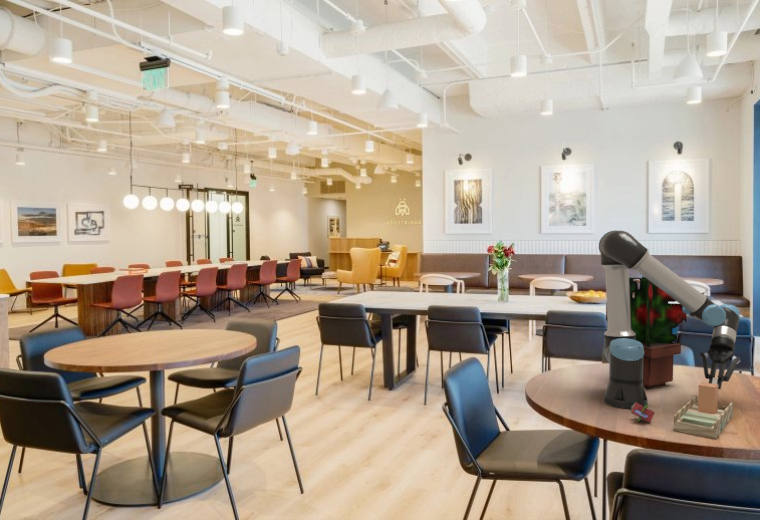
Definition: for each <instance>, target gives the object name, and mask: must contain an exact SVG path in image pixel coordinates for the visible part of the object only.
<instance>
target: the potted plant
mask: <svg viewBox="0 0 760 520" xmlns="http://www.w3.org/2000/svg"><path fill="white" fill-rule="evenodd" d="M635 280H639V284H638V282H637V281H635ZM629 287H630V311H631V329H632V331H633V332H635V333H636V341H639V342H641V343H642V345H643V348H644V358H643V386H644V389H645V390H646V389H647V390H650V389H654V388H659V387H663V386H664V387H665V386H666V383H670V382H673V381H674V356H675V355H680V354H682V345H681V343H677V342H676V343H675V341H677V339H678V336H677V335H676V334H674V333H673V329H676V328H677V327H678V325H680V324H682V323H683V322H685V323H687V318H688V317H687V316H688V315H687V314H685V313H683V311H682V308H683V306H682V305H681V304H680V303H675V302H677V301H676V300H674V299H673V298H672V297H670V296H669V295H668V294H666V293H665V292H664V291H662V290H661V289H660V288H658V287H657V286H656V285H654V284H653V283H652V282H651V281H649V280H648V279H647V278H645V277H644V276H643V275H641V277H629ZM638 287H639V288H638ZM633 293H634V297H633ZM605 321H607V322H608V319H607V301H606V304H605Z"/></svg>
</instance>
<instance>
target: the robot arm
mask: <svg viewBox="0 0 760 520" xmlns="http://www.w3.org/2000/svg"><path fill="white" fill-rule="evenodd" d="M598 251H599V253H600V266H601V267H602V268H603V269H604V270H605V272H604V273H605V292H606V293H605V295H606V302H607V319H608V321H607V330H606V331H605V332H604V333H603V338H604V339H603V340H604V344H603V348H602V350H603V351H602V352H603V355H604V357H605V359H606V360H607V362H608V364H609V367H608V368H609V370H608V371H609V378H608V380H609V381H608V383H607V387H606V389H605V391H604V394H603V402H604V403H605V404H607V405H609V406H611V407H614V408H621V409H629V410H631V409H632V406H633V405H634V404H635V403H636V402H637V403H638V404H640V405H642V406H644V405H646V404H648V403H649V401H648V396H647V393H646V389H645V388H644V386H643V358H644V348H643V345H642V343H641V342H639V341H636V333H635V332H633V331H632V329H631V311H630V287H629V278H630V270H632V271H633V270H635V271H636V272H637V273H639V274H640V275H641V276H643V277H645V278H647V279H648V280H649V281H651V282H652V283H653V284H654V285H656V286H657V287H658V288H660V289H661V290H662V291H664V292H665V293H666V294H668V295H669V296H670V297H672V298H673V299H674V300H676V301H675V302H677V304H681V305H682V306H683V308H682V311H683V313H685V314H687V316H689V317H692V318H694V319H696V320H698V321H701V322H702V323H704V324H706V325H708V326H713V331H712V337H711V341H710V346H709V349H708V350H707V352H700V353H699V354H700V355H699V356H700V358H701V360H702V366H703V367H702V368H703V372H704V378H705V379H706V380H707V379H708V383H711V384H718V390H722V389H721V388H722V384H723V382H725V383H726V382H727V383H728V382H729V380H730V379H731V377H732V375H733V373H734V371H735V370H736V368H737V366H739V365H740V363H741V358H740V356H735V353H734V350H735V346H736V345H735V343H736V339H737V333H738V327H739V323H740V317H741V315H740V313H741V312H740V309H739V308H738V307H737V306H736V305H734V304H728V303H723V304H720V305H719V304H716V303H715V302H714V301H712V300H711V299H710V298H709V297H707V296H706V295H704V294H703V293H702V292H700V291H699V290H698V289H696V288H695V287H694V286H693V285H691V284H690V283H689V282H687V281H686V280H685V279H683V278H682V277H680V276H679V275H678V274H677V273H675V272H674V271H672V270H671V269H670V268H668V267H667V266H665V264H663V263H662V262H661V261H659V260H658V259H657V258H655V257H654V256H652V254H650V253H649V249H648V248H647V247H646V246H644V245H643V244H642V243H640V242H639V241H638V240H637V238H635V236H633V235H632V234H630V233H629V232H628V231H625V230H609V231H607V232H606V233H605V234H603V236H602V237H600V240H599V242H598ZM709 358H710V360H711V361H712V363H711V367H710V372H709V366H708V362H707V360H708V359H709ZM729 362H730V364H729V366H728V367H727V363H729ZM718 364H720V365H719V369H718V375H717V377H716V373H717V368H718ZM726 367H727V370H726V371H725V369H726ZM640 402H641V403H640ZM648 405H649V404H648Z"/></svg>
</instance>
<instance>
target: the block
mask: <svg viewBox="0 0 760 520" xmlns="http://www.w3.org/2000/svg"><path fill="white" fill-rule="evenodd" d="M697 401H698V411H701V412H706V413H712V414H715V413H716V412H717V411H718V405H719V389H718V384H711V383H709V382H704V381H702V382H700V383H699V384H698V394H697Z"/></svg>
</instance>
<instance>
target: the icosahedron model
mask: <svg viewBox="0 0 760 520" xmlns="http://www.w3.org/2000/svg"><path fill="white" fill-rule="evenodd" d="M640 403H641V402H640ZM648 406H649V407H650V408H649V407H648ZM651 408H652V406H651V404H650V403H649V402H648V404H646V405H644V406H642V405H640V404H638V403H637V402H636V403H635V404H634V405H633V406H632V409H630V410H631V411H630V413H631V414H632V415H634V416H635V417H634V419H635V422H636V423H639V424H640V423H642V422H643V421H644V422H646V423H647V424H651V422H652V421H653V420H652V419H653V417H654V416H655V411H652V410H653V408H652V409H651ZM637 418H638V420H637ZM641 421H642V422H641Z"/></svg>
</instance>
